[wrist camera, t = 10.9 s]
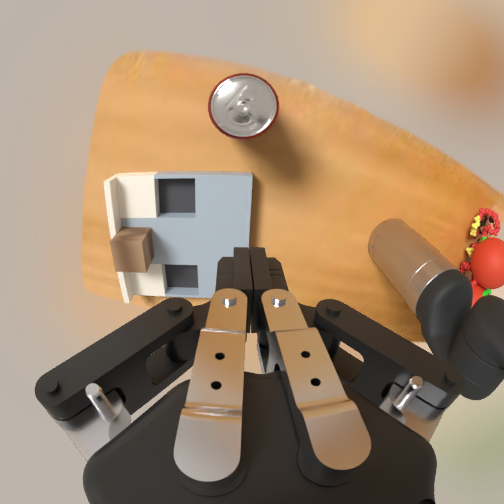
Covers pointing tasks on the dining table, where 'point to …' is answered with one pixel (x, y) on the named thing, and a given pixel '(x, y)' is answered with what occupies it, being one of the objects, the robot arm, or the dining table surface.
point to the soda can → (243, 106)
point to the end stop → (114, 227)
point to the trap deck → (187, 226)
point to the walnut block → (132, 249)
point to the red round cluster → (485, 256)
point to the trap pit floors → (178, 201)
